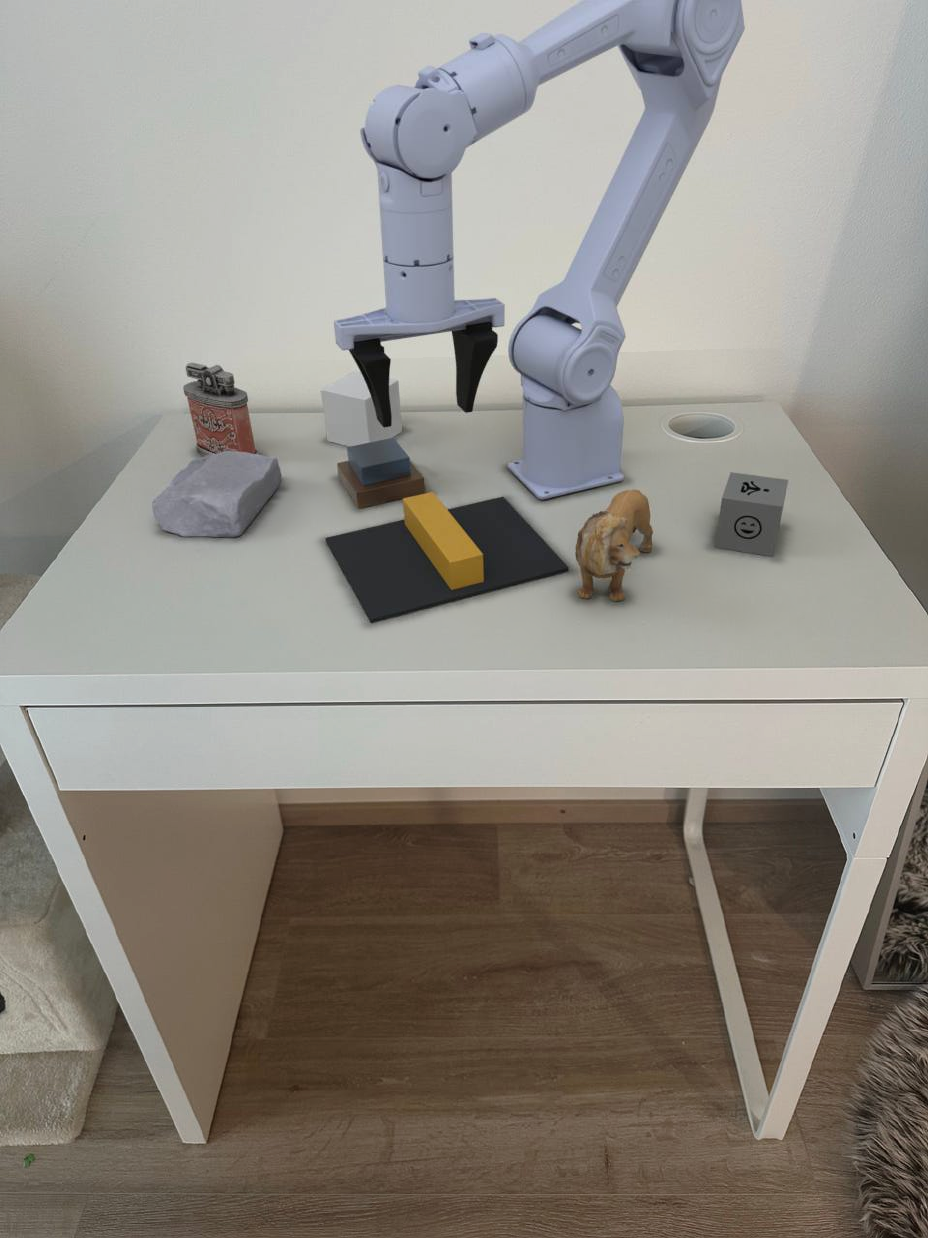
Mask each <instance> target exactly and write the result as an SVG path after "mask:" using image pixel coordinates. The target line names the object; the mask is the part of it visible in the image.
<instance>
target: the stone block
mask: <svg viewBox="0 0 928 1238" xmlns="http://www.w3.org/2000/svg"><path fill="white" fill-rule="evenodd" d="M281 481H282V471H281V467H280V465H279V460H278V458H277V457H276V456H272V457H271V456H267V455H263V454H259V453H258V454H251V453H247V452H237V451H233V452H232V451H225V452H221V453H218V454H209V455H207V456H205V457H204V456H199V457H198V458H196V459H193V460H190V462H188V465H187V466H186V467H184V468H182V469H181V470H179V472H178V473H177V474H176V475H175V476H174V477H173V478H172V480H171V482H170V483H169V484H168V487H166V488H165V489H163V490H162V492H161V493H160V494H159V495H158V496H156V497H155V498H154V499H153V501H152V502H151V506H152V507H151V508H152V514H153V518H154V519H155V520H156V521H157V523H158V526H160V528H161V530H163V531H165V532H169V533H172V534H175V535H179V536H181V537H189V538H190V537H212V538H224V537H225V538H226V537H227V538H236V537H239V536H241V535H242V534H243V533H244V532H245V530H246V529H247V528H248V526H249V525H250V524H251V523H252V522H253V521H254V519H255V518H256V517H257V515H258V514H259V512H260V511H261V510H262V509H263V508H264V507H265V505H266V504H267V502H268V500H269V499H270V498H271V497H272V496H273V495H274V494H275V493H276V490H277V489H278V487H279V486H280V484H281Z"/></svg>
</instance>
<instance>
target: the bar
mask: <svg viewBox="0 0 928 1238" xmlns="http://www.w3.org/2000/svg"><path fill="white" fill-rule="evenodd" d="M402 506H403V520H405V525H406V527H407V528H408V530H409V531H410V532H411V534H412V535H413V537H414V538H415V539H416V541H417V542H418V544H419V545H420V546H421V548H422V549H423V551H424V552H425V554H426V555H427V556H428V558H429V559H430V561H431V562H432V563H433V565H434V566H435V568H436V569H437V570H438V572H439V573H440V575H441V576H442V578H443V579H444V580H445V582H446V583H447V585H448V586H449V587H450V589H451V590H454V589H458V588H462V587H466V586H470V585H473V584H477V583H481V582H484V569H483V554H482V552H481V551H480V550H479V549H478V547H477V546H476V545H475V544H474V542H473V541H472V540H471V539H470V537H469V536H468V535H467V534H466V532H465V531H464V530H463V529H462V527H461V526H460V525H459V524H458V522H457V521H456V520H455V519H454V518H453V516H452V515H451V514H450V513H449V511H448V510H447V509H448V508H447V507H446V506H445V505H444V504H443V502H442V501H441V500H440V499H439V497H438V496H437V495H436V494H435V492H433V491H430V492H425V494H421V495H416V496H412V497H407V498H403V499H402Z"/></svg>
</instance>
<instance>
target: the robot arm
mask: <svg viewBox="0 0 928 1238" xmlns="http://www.w3.org/2000/svg"><path fill="white" fill-rule="evenodd" d="M745 28H746V27H745V19H744V11H743V4H742V0H580V1H579V2H577V3H575V4H574V5H572V6H571V7H570V8H568V9H566V10H565V11H564V12H562V13H561V14H559V15H557V16H556V17H554V18H552V20H549V21H548V22H547V23H545V24H544V25H542V26H541V27H539V28H538V29H536V30H535V31H532V33H530V34H528V35H527V36H526V37H524V38H522V39H521V40H519V41H517V40H515V39H514V38H511V37H510V36H508V35H505V34H502V33H498V34H495V35H493V34H492V33H490V32H489V33H488V32H479V33H477V34H476V35H474V36H473V37H471V38H469V39H468V41H469V42H468V43H469V47H470V49H468V50H466V51H465V52H463V53H461V54H459V55H458V56H456V57H454V58H452V59H451V60H449V61H447V62H445V63H443V64H442V65H439V66H438V67H437V68H436V67H435V66H433V65H432V66H431V65H427V66H424V67H423V68H421V69H420V70H418V72H417V75H418V79H417V80H416V82H415V85H414V86H409V85H403V84H395V85H390V86H388V87H386V88H384V89H382V90H381V91H380V92H378V94H377V95H375V97H374V98H373V100H372V101H373V103H372V105H369V107H368V110H367V112H366V116H365V122H364V123H365V125H364V126H363V127H361V128H360V129H359V131H360V132H359V133H360V138H361V143H362V145H363V148H364V150H365V151H366V153H367V155H368V156H369V158H370V159H371V160H372V161H373V162H374V164H375V166H376V170H377V181H378V182H377V185H378V204H379V206H378V207H379V218H380V220H379V221H380V234H381V249H382V250H381V251H382V263H383V277H384V278H383V281H384V297H385V307H384V308H379V309H376V310H373V311H369V312H366V313H362V314H358V315H355V316H351V317H346V318H341V319H340V318H339V319H334V320H333V328H334V340H335V344H336V345H337V346H338V348H339V349H340V350H341V351H349V354H350V355H351V356H352V358H353V360H354V362H355V364H356V366H357V368H358V370H359V372H361V374H362V376H363V378H364V380H365V382H366V385H367V387H368V390H369V392H370V395H371V398H372V401H373V404H374V408H375V412H376V416H377V420H378V421H379V422H380V424H381V425H382V426H383V427H390V426H391V424H392V415H391V406H390V397H389V379H390V371H391V363H392V362H391V361H392V359H391V358H390V357H389V356H388V355H387V354H386V352H385V346H383V345H382V342H389V341H397V340H404V339H411V338H415V337H416V338H417V337H422V336H423V337H424V336H429V335H435V334H437V335H438V334H442V333H443V334H444V333H449V332H451V336H452V342H453V343H452V344H453V351H454V359H455V396H456V397H455V398H456V404H457V406H458V407H459V408H460V409H461V410H462V411H463V412H464V413H465V414H468V413H473V412H474V411H473V410H474V404H475V401H476V397H477V396H476V395H477V392H478V388H479V385H480V382H481V379H482V376H483V373H484V371H485V369H486V366H487V364H488V362H489V361H490V359H491V357H492V356H493V354H494V352H495V351H496V349H497V347H498V342H499V337H498V336H499V335H498V333H497V332H496V331H494V330H493V328H501V327H505V317H506V316H505V314H506V313H505V312H506V311H505V310H506V309H505V308H506V307H505V303H504V302H502V301H501V300H499V299H498V298H496V297H491V298H481V299H480V298H479V299H478V298H477V299H456V298H455V259H454V256H455V255H454V216H453V215H454V213H453V177H452V176H453V172H454V171H455V170H456V169H457V167H458V166H459V164H460V163H461V161H462V159H463V157H464V155H465V152H466V150H467V148H469V147H471V146H472V145H474V144H475V143H477V142H479V141H481V140H482V139H484V138H486V137H487V136H489V135H491V134H493V133H494V132H496V131H497V130H500V129H501V128H502V127H504V126H506V125H507V124H509V123H511V122H513V121H514V120H516V119H518V118H520V117H521V116H522V115H525V114H526V113H528V112H529V111H530V110H531V109H532V107H533V104H534V102H535V99H536V95H537V91H538V87H539V86H541V85H543V84H545V83H547V82H549V81H550V80H553V79H555V78H556V77H559V76H561V75H563V74H564V73H566V72H568V71H571V70H572V69H575V68H577V67H579V66H580V65H582V64H584V63H586V62H589V61H590V60H592V59H594V58H596V57H598V56H600V55H602V54H604V53H606V52H608V51H609V50H611V49H614V48H615V47H618V50H619V52H620V53H621V55H622V58H623V60H624V61H625V64H626V66H627V69H629V72H630V74H631V75H632V77H633V79H634V81H635V84H636V86H637V88H638V89H639V90H640V92H641V97H642V100H643V104H644V110H643V112H642V114H641V117H640V119H639V121H638V123H637V125H636V127H635V129H634V131H633V134H632V136H631V138H630V140H629V142H628V144H627V146H626V148H625V150H624V152H623V154H622V156H621V158H620V161H619V163H618V165H617V167H616V169H615V170H614V171H615V172H614V174H613V176H612V178H611V180H610V182H609V184H608V186H607V188H606V190H605V192H604V195H603V196H602V199H601V200H600V203H599V204H598V207H597V209H596V211H595V213H594V216H593V217H592V218H591V219H592V220H591V222H590V223H589V226H588V228H587V230H586V232H585V234H584V236H583V239H582V241H581V242H580V245H579V248H578V249H577V251H576V252H575V255H574V258H573V260H572V261H571V264H570V266H569V267H568V270H567V272H566V274H565V276H564V278H563V280H562V281H560V282H559V283H557V284H556V285H554V286H552V287H550V288H548V289H546V290H544V291H543V292H541V293H540V294H539V295H538V296H537V298H536V300H535V302H534V304H533V306H532V307H531V309H530V311H529V312H528V313H527V314H526V315H525V316H524V317H523V318H521V320H519V322H518V323H517V324H516V325H515V327H514V328H513V330H512V333H511V334H510V337H509V341H508V346H507V347H508V349H507V352H508V353H507V354H508V358H509V363H510V364H511V366H512V367H513V369H514V370H515V371H516V372H517V373H518V374H520V386H521V387H522V459H518V460H514V461H510V462H508V463H507V469H508V470H509V471H510V472H511V473H513V474H514V476H515V477H517V479H518V480H519V481H520V482H521V483H522V484H523V485H524V486H525V487H526V488H527V489H528V490H529V491H530V492H531V493H532V494H533V495H534V496H535V497H536V498H537V499H538V500H548V499H551V498H556V497H561V496H564V495H568V494H572V493H577V492H580V491H584V490H589V489H593V488H598V487H601V486H606V485H611V484H615V483H618V482H623V481H624V479H625V478H624V477H625V475H624V474H623V473H622V472H621V467H622V466H621V465H622V450H623V440H624V439H623V438H624V437H623V436H624V424H625V423H624V417H625V416H624V410H623V409H624V408H623V405H622V404H623V403H622V401H621V398H620V396H619V394H618V392H617V391H616V390H615V388H614V387H613V386H612V385H611V384H612V381H613V380H614V377H615V374H616V370H617V362H618V356H619V353H620V350H621V348H622V346H623V343H624V342H625V340H626V338H627V337H626V331H625V328H624V325H623V322H622V320H621V317H620V314H619V311H618V305H619V303H620V302H621V299H622V297H623V295H624V293H625V291H626V290H627V288H628V286H629V284H630V281H631V279H632V277H633V275H634V273H635V271H636V270H637V267H638V266H639V264H640V261H641V259H642V257H643V255H644V253H645V252H646V249H647V247H648V245H649V244H650V241H651V239H652V238H653V235H654V234H655V231H656V229H657V227H658V225H659V223H660V222H661V219H662V217H663V215H664V213H665V211H666V210H667V208H668V205H669V203H670V201H671V199H672V196H674V193H675V191H676V189H677V187H678V185H679V183H680V181H681V179H682V177H683V175H684V173H685V171H686V169H687V167H688V165H689V163H690V161H691V159H692V157H693V154H694V153H695V151H696V149H697V147H698V145H699V143H700V141H701V139H702V137H703V135H704V133H705V130H706V129H707V127H708V125H709V122H710V121H711V118H712V116H713V113H714V111H715V107H716V103H717V99H718V96H719V91H720V87H721V83H722V79H723V75H724V73H725V70H726V68H727V67H728V64H729V62H730V60H731V58H732V57H733V54H734V52H735V50H736V48H737V46H738V44H739V42H740V40H741V38H742V37H743V34H744V32H745ZM574 324H580V327H581V328H580V327H577V326H575V325H574Z"/></svg>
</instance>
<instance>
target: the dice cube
mask: <svg viewBox="0 0 928 1238" xmlns="http://www.w3.org/2000/svg"><path fill="white" fill-rule="evenodd" d="M788 484H789V479H785V478H779V477H778V478H777V477H769V476H762V475H755V474H748V473H740V472H732V471H730V473H729V476H728V479H727V482H726V485H725V488H724V491H723V494H722V496H721V503H720V510H719V515H718V523H717V528H716V529H717V530H716V537H715V542H714V543H715V544H714V548H715V549H722V550H727V551H728V550H729V551H733V552H740V553H747V554H753V555H760V556H765V557H771V558H774V554H775V549H776V544H777V540H778V536H779V531H780V526H781V521H782V515H783V510H784V505H785V501H786V500H785V499H786V494H787V489H788Z"/></svg>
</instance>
